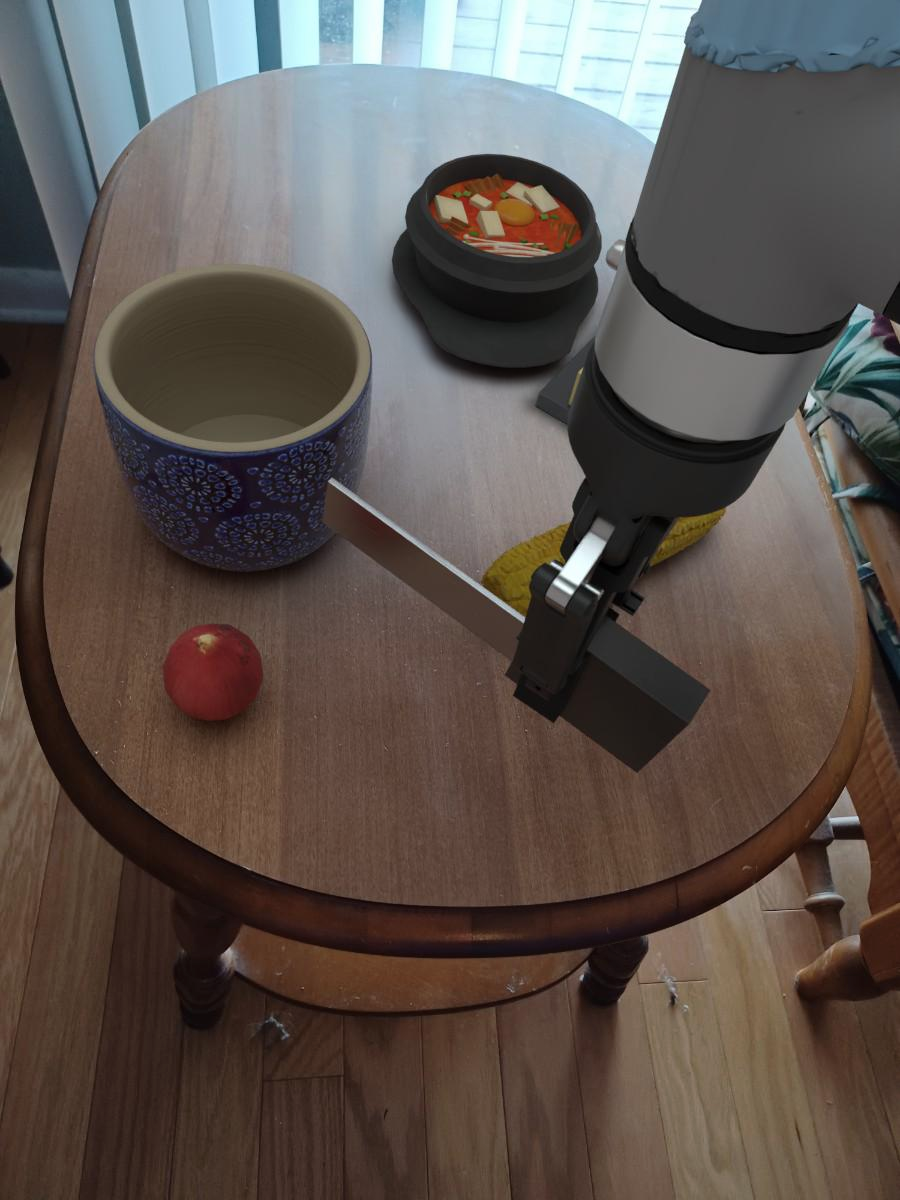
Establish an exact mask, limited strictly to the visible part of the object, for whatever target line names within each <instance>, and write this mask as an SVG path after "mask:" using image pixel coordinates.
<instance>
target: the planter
mask: <svg viewBox="0 0 900 1200" xmlns="http://www.w3.org/2000/svg"><path fill="white" fill-rule="evenodd" d="M92 365H93V372H94V379H95V384H96V391H97V394H98V399H99V403H100V407H101V411H102V416H103V419H104V423H105V427H106V431H107V435H108V439H109V442H110V445H111V448H112V452H113V455H114V459H115V462H116V466H117V469H118V471H119V474H120V476H121V479H122V483H123V485H124V488H125V490H126V492H127V495H128V498H129V499H130V501H131V503H132V505H133V506H132V507H133V508H134V510H135V511H136V513H137V515H138V516H139V518H140V519H141V520H142V522H143V523H144V524H145V526H146V528H147V529H148V530H149V531H150V532H151V533H152V534H153V536H154V537H156V539H157V540H159V542H161V543H162V544H163V545H164V546H166V547H167V548H169V549H170V550H171V551H174V552H175V553H176V554H178V555H181V556H182V557H184V558H186V559H187V560H189V561H192V562H194V563H197V564H199V565H202V566H205V567H209V568H213V569H218V570H221V571H222V570H223V571H230V572H244V573H245V572H259V571H260V572H261V571H266V570H272V569H276V568H280V567H284V566H286V565H287V566H288V565H290V564H292V563H294V562H297V561H299V560H301V559H303V558H306V557H307V556H309V555H311V554H313V553H314V552H315V551H317V550H318V549H319V548H321V547H322V546H323V545H325V544H326V543H327V542H328V541H329V540H330V539H332V538H333V537H334V535H336V534H337V533H336V532H335V531H334V530H332V529H331V528H330V527H328V526H327V525H325V524H324V523H323V522H322V517H323V510H324V503H325V497H326V490H327V483H328V480H330V479H331V478H334V479H335V480H336V481H338V482H339V483H341V484H342V485H343V486H345V487H346V488H348V489H349V490H350V491H352V492H353V493H354V494H356V495H357V496H359V492H360V489H361V483H362V479H363V474H364V470H365V462H366V459H367V452H368V443H369V442H368V441H369V434H370V433H369V432H370V424H371V412H372V411H371V410H372V395H373V394H372V393H373V354H372V347H371V343H370V340H369V337H368V335H367V332H366V330H365V328H364V325H363V324H362V323H361V321H360V320H359V318H358V317H357V316H356V314H355V313H354V311H353V310H351V308H349V306H348V305H347V304H346V303H344V301H343V300H341V298H339V297H338V296H336V295H335V294H334V293H332V292H331V291H329V290H328V289H327V288H325V287H323V286H321V285H320V284H317V283H316V282H314V281H312V280H309V279H307V278H305V277H302V276H301V275H297V274H295V273H292V272H289V271H285V270H282V269H277V268H273V267H268V266H263V265H256V264H243V263H220V264H217V263H216V264H210V265H209V264H208V265H207V264H206V265H201V266H194V267H189V268H186V269H182V270H181V269H180V270H178V271H174V272H171V273H168V274H166V275H163V276H161V277H158V278H156V279H153V280H151V281H150V282H148V283H146V284H144V285H142V286H141V287H139V288H137V289H136V290H134V291H132V292H131V293H130V294H129V295H127V296H126V297H125V298H123V299H122V300H121V301H120V302H119V303H118V304H117V305H116V306H115V307H114V308H113V309H112V311H111V312H110V313H109V314H108V315H107V317H106V318H105V320H104V321H103V323H102V324H101V327H100V328H99V330H98V333H97V336H96V339H95V343H94V348H93V355H92Z"/></svg>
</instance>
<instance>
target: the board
mask: <svg viewBox="0 0 900 1200" xmlns="http://www.w3.org/2000/svg"><path fill="white" fill-rule="evenodd" d="M595 336H596V334H595V335H594V337H592V339H590V340H589V341H588V342H587V344H585V346H584V347H582V348H581V349H580V351H578V353H576V355H575V356H574V357H573V358H571V360H569V362H568V363H567V364H565V366H564V367H563V368H562V369H561V370H560V371H559V372H558V373H556V375H555V376H554V377H553V378H552V379H551V380H550V381H549V382H548V383H547V384H546V385H545V386H544V387H543V388H542V389H541V390H540V391H539V393H538V395H537V400H536V402H535V407H536V408H538V409H540V410H542V411H543V412H545V413H547V414H549V415H550V416H552V417H554V418H555V419H557V420H558V421H560V422H562V423H564V424H566V425H567V423H568V415H569V411H570V407H571V406H570V405H569V404H568V403H569V400H570V397H571V394H572V390H573V387H574V384H575V381H576V378H577V374H578V372H579V371H580V370H581V369H582V368H583V367H584V364H585V361H586V358H587V355H588V352H589V350H590V348H591V346H592V344H593V343H594V342H595Z"/></svg>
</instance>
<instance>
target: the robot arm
mask: <svg viewBox="0 0 900 1200" xmlns="http://www.w3.org/2000/svg"><path fill="white" fill-rule="evenodd" d="M684 34H685V35H684V39H683V43H684V45H685V46H684V50H683V52H682V56H681V59H680V63H679V66H678V69H677V72H676V75H675V79H674V82H673V85H672V89H671V92H670V96H669V98H668V102H667V105H666V109H665V112H664V115H663V119H662V122H661V126H660V129H659V132H658V135H657V139H656V142H655V145H654V149H653V152H652V156H651V159H650V162H649V165H648V168H647V172H646V174H645V178H644V182H643V185H642V188H641V192H640V195H639V197H638V198H639V199H638V201H637V205H636V208H635V212H634V215H633V217H632V219H631V221H630V223H629V227H628V230H627V233H626V235H625V236H626V237H625V240H624V239H622V238H620V239H618V240H616V241H614V243H613V244H612V245H611V246H610V247H609V248H608V249H607V251H606V254H605V262H606V265H607V266H608V267H609V268H611V269H612V270H614V271H615V275H614V279H613V281H612V283H611V287H610V290H609V292H608V294H607V298H606V300H605V303H604V307H603V309H602V313H601V316H600V319H599V323H598V325H597V329H596V333H595V335H596V336H595V335H594V336H595V342H594V343H593V344H592V346H591V348H590V350H589V352H588V355H587V358H586V361H585V364H584V367H583V370H582V373H581V376H580V379H579V382H578V385H577V388H576V392H575V395H574V398H573V401H572V404H571V407H570V411H569V415H568V423H567V424H566V425H567V427H566V430H567V437H568V441H569V446H570V448H571V451H572V453H573V455H574V458H575V459H576V462H577V463H578V465H579V467H580V468H581V470H582V472H583V474H584V476H585V477H584V479H583V480H582V482H581V483H580V485H579V487H578V489H577V491H576V494H575V496H574V498H573V500H572V504H571V508H572V512H573V516H572V519H571V521H570V522H571V523H570V525H569V528H568V530H567V533H566V535H565V537H564V540H563V542H562V544H561V547H560V553H561V555H562V557H563V558H564V560H565V565H564V564H562V563H561V562H559V561H558V560H556V559H552V560H551V562H550V563H549V564H547V563H546V562H544V563H543V564H542V565H540V566H539V567H538V568H537V569H536V570H535V571H534V572H533V574H532V576H531V579H532V580H531V582H530V584H529V590H530V594H531V599H530V603H529V607H528V610H527V614H526V617H525V621H524V624H523V628H522V631H521V632H520V634H519V635H518V636H517V638H516V639H517V640H518V641H519V642H518V646H517V649H516V653H515V656H514V660H513V663H512V667H514V668H515V669H517V670H518V671H520V672H521V673H522V674H521V676H520V679H519V681H518V684H516V686H515V689H514V693H513V695H512V697H514V698H515V699H517V700H518V701H520V702H521V703H523V704H524V705H526V706H527V707H529V709H531V710H533V711H534V712H536V713H537V714H539V715H540V716H542V717H544V718H545V719H546V720H547V721H549V722H550V723H552V724H555V722H556V721H557V720H558V718H559V717H560V716H559V715H560V714H561V712H562V710H563V708H564V706H565V704H566V702H567V700H568V698H569V696H570V694H571V692H572V690H573V688H574V686H575V684H576V682H577V680H578V678H579V676H580V674H581V672H582V670H583V668H584V666H585V664H586V662H587V660H588V658H589V656H590V655H588V654H587V653H586V651H587V649H588V647H589V645H590V643H591V641H592V639H593V637H594V635H595V633H596V631H597V629H598V628H599V626H600V624H601V622H602V620H603V618H604V616H605V615H606V616H607V617H609V618H610V619H612V620H613V621H615V622H616V623H617V621H618V619H619V617H620V613H619V612H618V611H616V610H614V609H613V607H614V606H616V607H618V609H620V610H622V611H624V613H626V614H628V615H630V616H632V617H633V616H634V615H635V614H636V612H637V611H638V610H639V608H640V606H641V605H642V603H643V602H644V600H645V597H644V596H643V595H641V594H639V593H638V592H636V591H635V590H633V589H634V587H635V585H636V583H637V582H638V579H641V578H643V575H647V574H648V572H649V571H650V570H651V568H652V566H650V563H651V561H652V559H653V558H654V556H655V554H656V552H657V550H658V548H659V547H660V545H661V544H662V543H663V541H664V540H665V538H666V537H667V536H668V534H669V533H670V531H671V530H672V529H673V527H674V526H675V524H676V522H677V520H678V518H679V517H696V516H702V515H707V514H710V513H713V512H716V511H719V510H721V509H723V508H725V507H726V508H727V507H729V506H731V505H732V504H734V503H735V502H736V501H738V500H739V499H740V498H741V497H742V496H743V495H744V494H745V493H746V492H747V491H748V490H749V489H750V487H751V485H752V484H753V482H754V480H755V479H756V478H757V475H758V474H759V472H760V471H761V469H762V467H763V465H764V464H765V462H766V461H767V460H768V459H767V458H768V457H769V456H770V453H771V452H772V450H773V449H774V446H775V445H776V444H777V442H778V440H779V439H780V437H781V435H782V433H783V432H784V430H785V427H786V425H787V423H788V422H789V421H790V420H791V419H792V418H794V416H795V415H796V413H797V411H798V410H799V408H800V406H801V405H802V403H803V401H804V400H805V398H806V397H807V395H808V393H809V391H810V390H811V388H812V387H813V385H814V383H815V382H816V380H817V378H818V377H819V375H820V373H821V372H822V370H823V369H824V368H825V365H826V363H827V362H828V360H829V359H830V358H831V356H832V354H833V352H834V350H835V349H836V347H837V345H838V344H839V342H840V340H841V339H842V337H843V335H844V334H845V332H846V330H847V329H848V328H849V326H850V321H851V318H852V316H853V314H854V312H855V311H856V309H857V308H858V305H860V306H862V307H865V308H867V309H869V310H871V311H873V312H875V313H877V314H880V315H881V316H883V317H884V318H886V319H888V320H889V321H891V322H894V323H895V324H897V325H898V326H900V0H701V2H700V4H699V7H698V10H697V11H696V12H694V13H693V14H692V15H691V16H690V21H689V22H688V26H687V27H686V30H685V32H684Z"/></svg>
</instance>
